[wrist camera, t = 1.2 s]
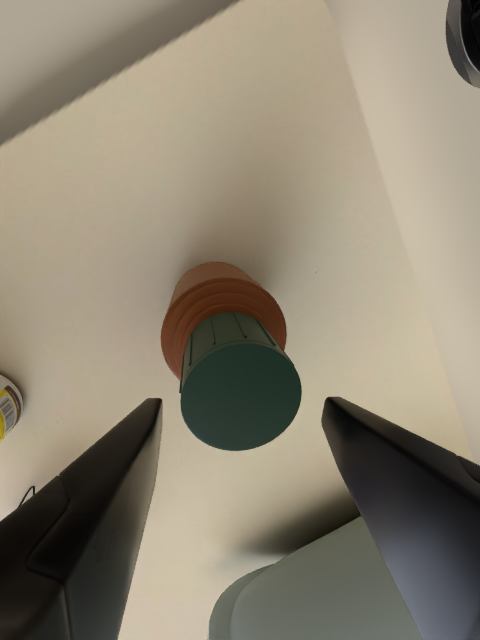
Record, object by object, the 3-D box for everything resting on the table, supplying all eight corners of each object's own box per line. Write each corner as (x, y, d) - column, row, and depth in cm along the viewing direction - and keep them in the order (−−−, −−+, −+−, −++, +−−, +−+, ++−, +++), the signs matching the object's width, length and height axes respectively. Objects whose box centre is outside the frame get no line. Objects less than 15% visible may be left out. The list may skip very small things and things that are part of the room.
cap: (235, 292, 12) (251, 317, 8) (289, 355, 13) (324, 400, 10) (165, 353, 12) (153, 401, 9) (225, 408, 13) (236, 470, 10)
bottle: (220, 242, 20) (254, 258, 8) (274, 308, 22) (362, 393, 10) (152, 302, 20) (98, 395, 9) (212, 361, 22) (230, 497, 11)
